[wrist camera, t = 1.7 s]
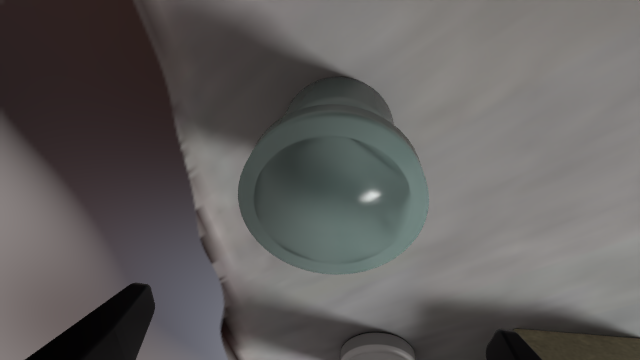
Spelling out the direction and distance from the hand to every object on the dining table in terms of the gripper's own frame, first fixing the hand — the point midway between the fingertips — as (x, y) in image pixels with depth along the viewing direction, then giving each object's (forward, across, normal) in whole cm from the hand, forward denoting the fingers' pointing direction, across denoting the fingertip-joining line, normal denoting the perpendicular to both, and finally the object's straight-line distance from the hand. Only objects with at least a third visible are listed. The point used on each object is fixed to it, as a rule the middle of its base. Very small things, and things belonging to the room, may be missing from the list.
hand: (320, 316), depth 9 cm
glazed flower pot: (+12, 0, 0) cm, 12 cm away
